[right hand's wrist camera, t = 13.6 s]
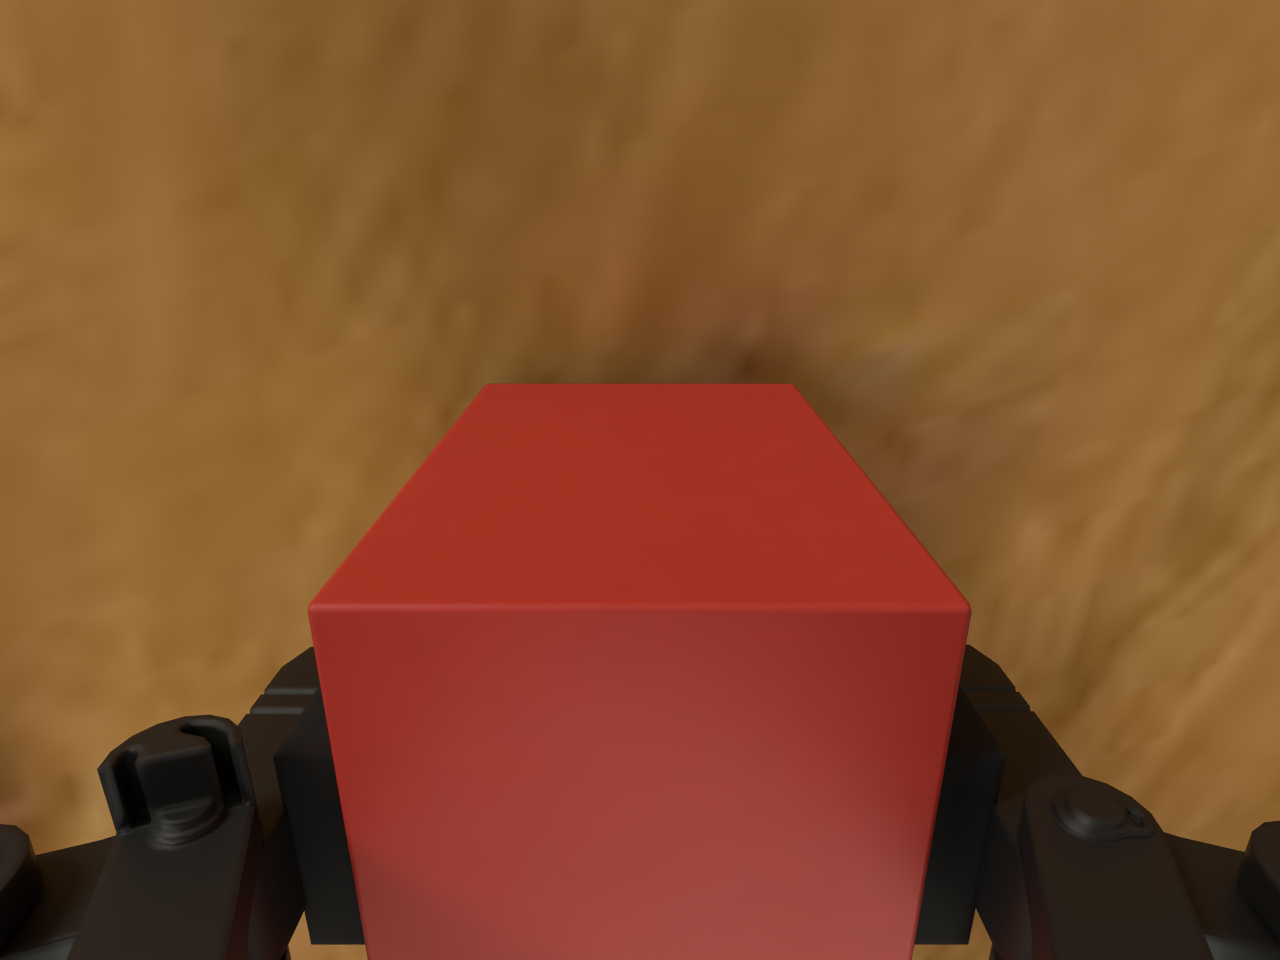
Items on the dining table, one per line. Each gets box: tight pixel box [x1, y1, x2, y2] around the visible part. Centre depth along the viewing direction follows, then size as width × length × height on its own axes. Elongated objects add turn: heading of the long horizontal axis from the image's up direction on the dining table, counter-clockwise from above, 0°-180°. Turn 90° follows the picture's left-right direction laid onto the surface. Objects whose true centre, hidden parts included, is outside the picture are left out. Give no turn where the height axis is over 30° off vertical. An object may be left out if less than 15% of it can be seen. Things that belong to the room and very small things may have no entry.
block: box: [308, 384, 971, 960], centre depth 12 cm, size 6×7×9 cm
